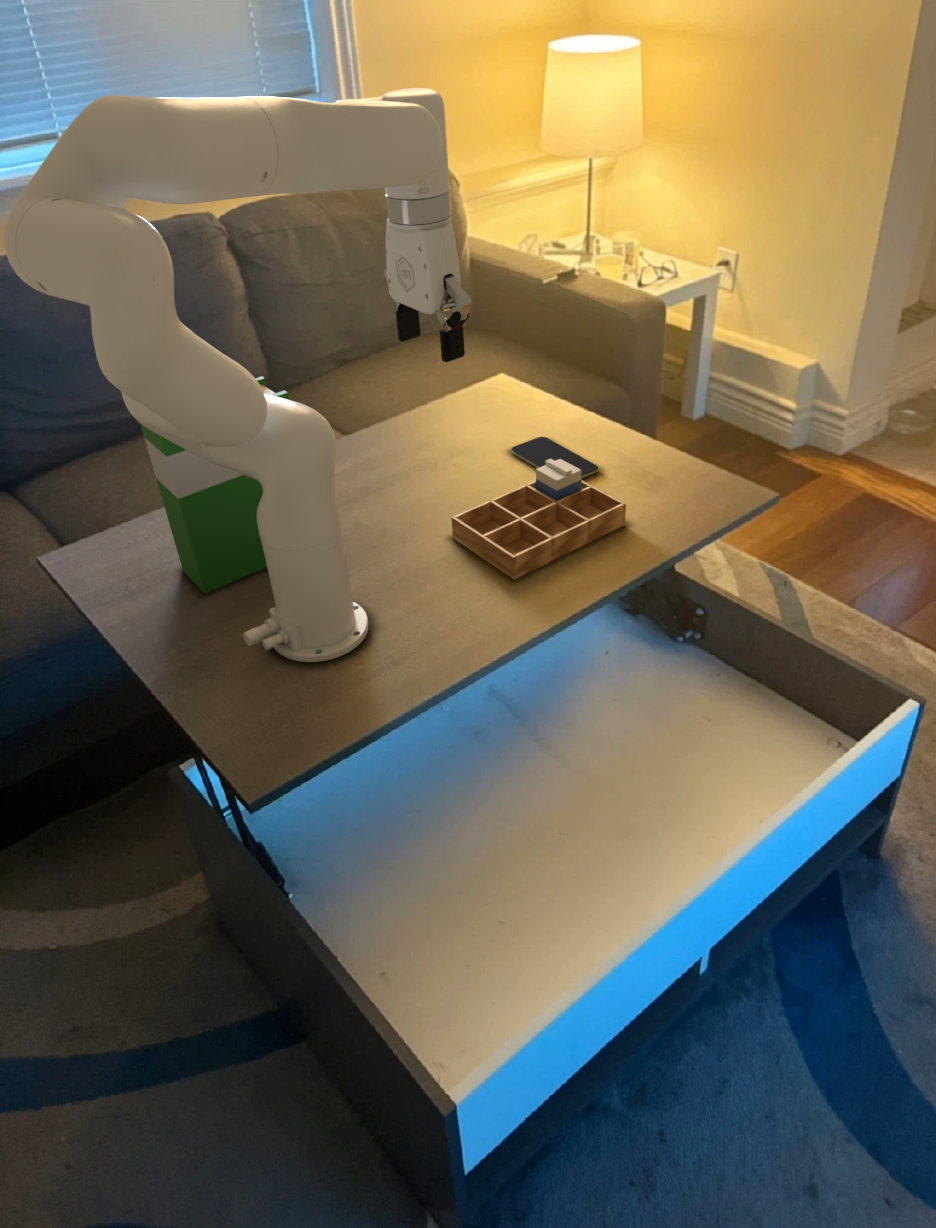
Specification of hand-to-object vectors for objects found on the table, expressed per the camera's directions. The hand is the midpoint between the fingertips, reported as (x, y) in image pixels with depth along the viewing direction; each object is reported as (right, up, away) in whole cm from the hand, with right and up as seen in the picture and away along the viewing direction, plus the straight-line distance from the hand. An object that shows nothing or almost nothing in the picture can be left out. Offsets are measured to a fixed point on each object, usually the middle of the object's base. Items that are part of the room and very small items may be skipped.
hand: (431, 348), depth 122 cm
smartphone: (+19, -9, +33) cm, 39 cm away
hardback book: (-27, -26, +15) cm, 40 cm away
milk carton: (+18, -17, +21) cm, 33 cm away
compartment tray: (+15, -22, +16) cm, 31 cm away
